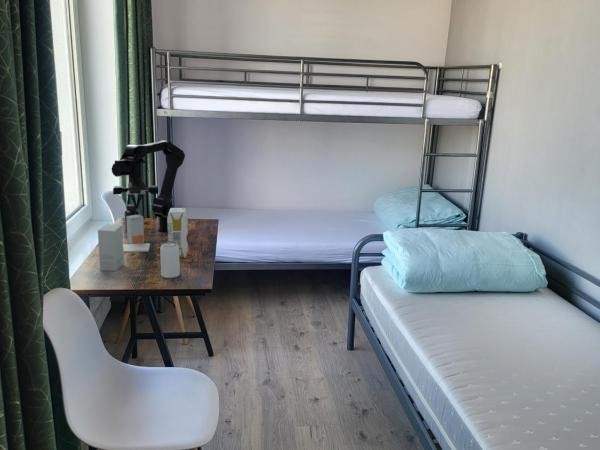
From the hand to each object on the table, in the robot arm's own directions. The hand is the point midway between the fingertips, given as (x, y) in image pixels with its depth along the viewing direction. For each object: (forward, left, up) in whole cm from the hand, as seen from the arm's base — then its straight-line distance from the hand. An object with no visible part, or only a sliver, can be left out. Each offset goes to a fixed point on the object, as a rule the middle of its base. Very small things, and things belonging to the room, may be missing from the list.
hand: (137, 209), depth 223 cm
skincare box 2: (+8, 0, -13) cm, 16 cm away
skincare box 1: (+40, -6, -13) cm, 42 cm away
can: (+52, +15, -13) cm, 55 cm away
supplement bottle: (-14, -3, -13) cm, 20 cm away
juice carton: (+29, +18, -13) cm, 36 cm away
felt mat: (+17, 0, -13) cm, 21 cm away
